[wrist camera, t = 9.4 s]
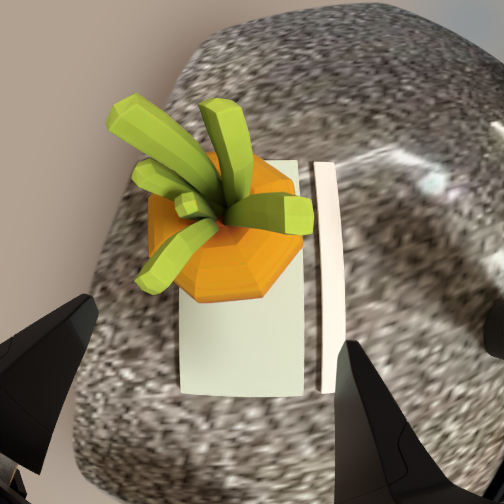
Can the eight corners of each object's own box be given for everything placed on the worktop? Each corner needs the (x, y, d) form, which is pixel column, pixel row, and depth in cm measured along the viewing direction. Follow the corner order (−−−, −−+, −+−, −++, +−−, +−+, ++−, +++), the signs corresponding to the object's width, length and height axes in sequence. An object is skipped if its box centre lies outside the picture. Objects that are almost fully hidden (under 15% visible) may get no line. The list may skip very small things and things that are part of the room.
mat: (302, 393, 17) (303, 395, 17) (183, 390, 18) (180, 393, 17) (296, 164, 20) (297, 160, 20) (188, 167, 21) (186, 164, 20)
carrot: (296, 284, 18) (418, 190, 4) (226, 322, 18) (99, 364, 3) (258, 218, 19) (251, 9, 4) (191, 254, 19) (37, 115, 4)
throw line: (342, 390, 17) (343, 391, 17) (320, 392, 17) (321, 393, 17) (333, 164, 20) (334, 162, 20) (313, 164, 20) (314, 161, 20)
